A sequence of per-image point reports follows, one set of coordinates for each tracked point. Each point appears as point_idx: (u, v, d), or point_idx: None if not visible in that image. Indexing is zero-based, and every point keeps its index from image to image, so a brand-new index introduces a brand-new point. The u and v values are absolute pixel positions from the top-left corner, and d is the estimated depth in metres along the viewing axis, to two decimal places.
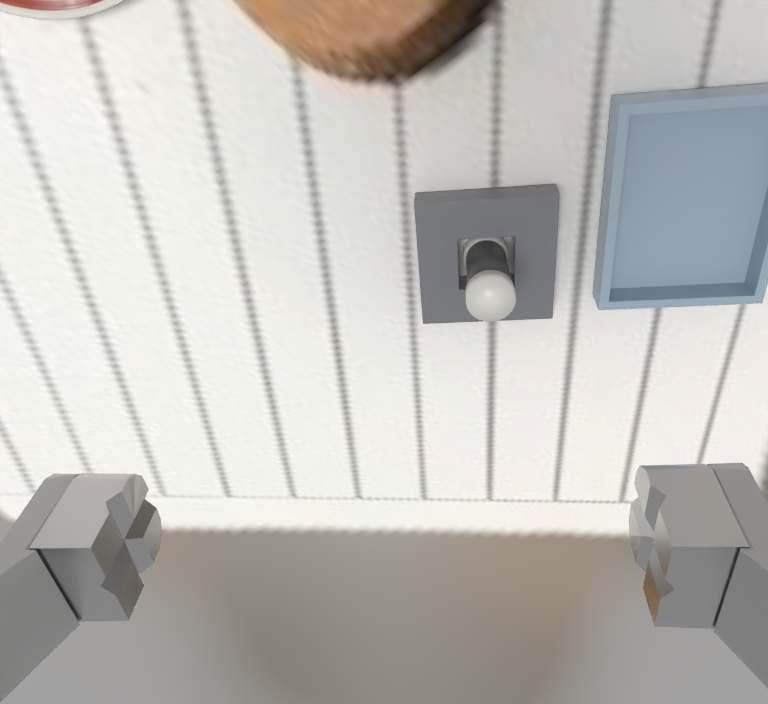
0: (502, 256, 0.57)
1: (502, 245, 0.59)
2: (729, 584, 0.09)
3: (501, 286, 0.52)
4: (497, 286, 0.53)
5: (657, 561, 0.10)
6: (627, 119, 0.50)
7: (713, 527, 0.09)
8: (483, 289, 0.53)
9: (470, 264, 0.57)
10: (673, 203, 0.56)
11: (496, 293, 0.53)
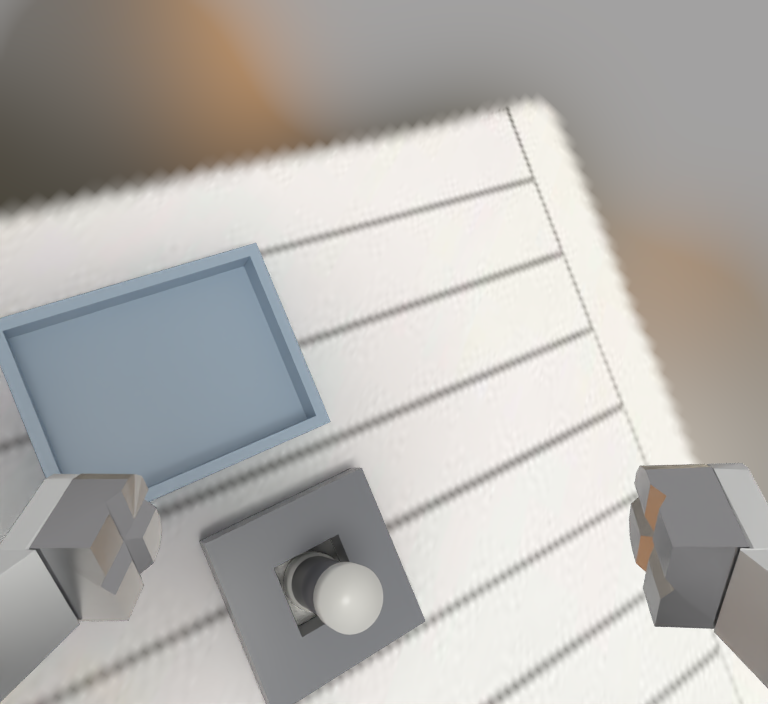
0: (302, 577, 0.44)
1: (293, 571, 0.46)
2: (729, 584, 0.09)
3: (327, 596, 0.39)
4: (330, 601, 0.39)
5: (657, 561, 0.10)
6: None
7: (713, 527, 0.09)
8: (340, 616, 0.39)
9: None
10: (177, 394, 0.46)
11: (340, 597, 0.39)
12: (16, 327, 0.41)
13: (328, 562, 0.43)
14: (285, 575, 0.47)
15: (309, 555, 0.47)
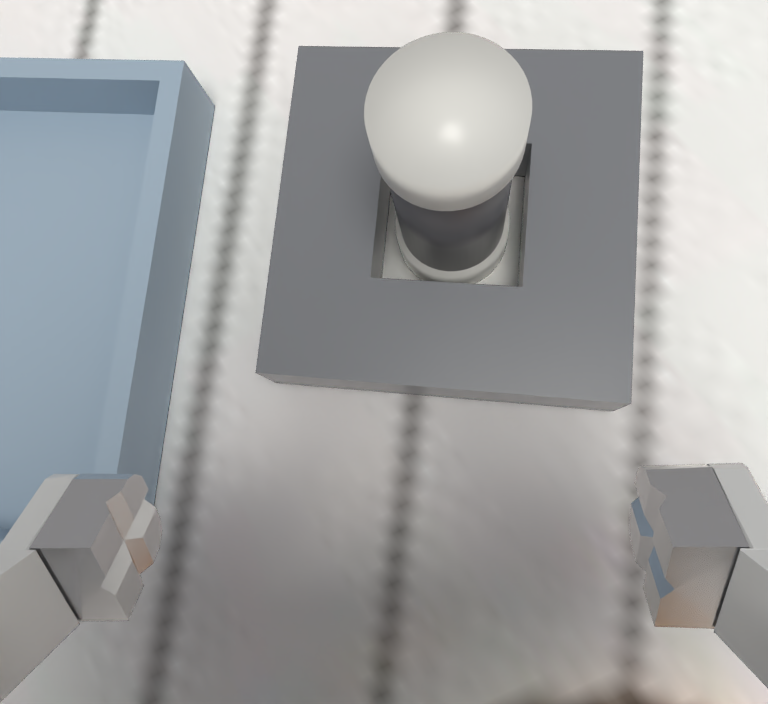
0: (406, 231, 0.21)
1: (406, 252, 0.23)
2: (729, 584, 0.09)
3: (405, 157, 0.16)
4: (419, 157, 0.16)
5: (657, 561, 0.10)
6: None
7: (713, 527, 0.09)
8: (467, 150, 0.16)
9: (495, 220, 0.20)
10: (30, 302, 0.25)
11: (425, 132, 0.16)
12: None
13: None
14: (415, 273, 0.24)
15: None
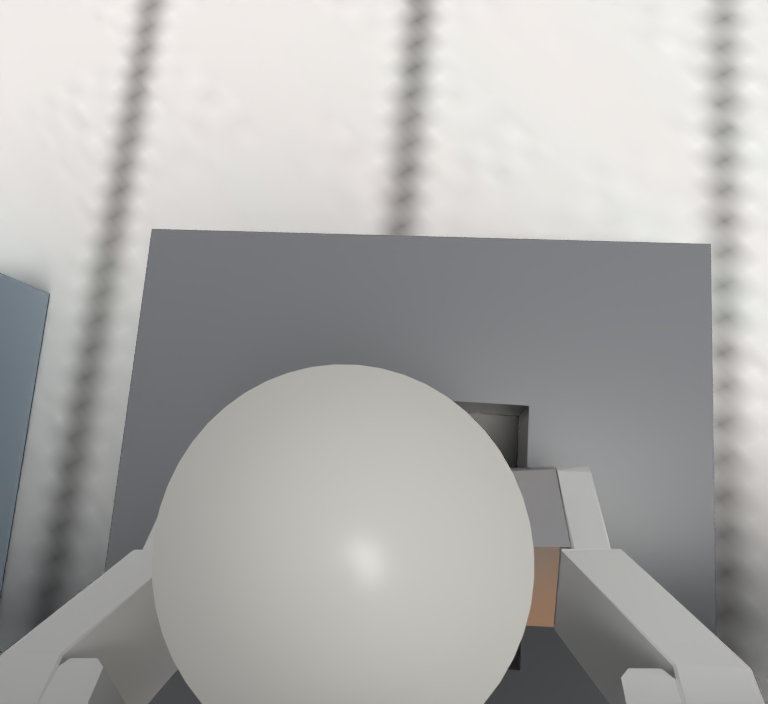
0: None
1: None
2: (558, 583, 0.09)
3: (237, 677, 0.07)
4: (270, 680, 0.07)
5: None
6: None
7: (541, 528, 0.09)
8: (381, 671, 0.07)
9: None
10: None
11: (286, 614, 0.07)
12: None
13: None
14: None
15: None
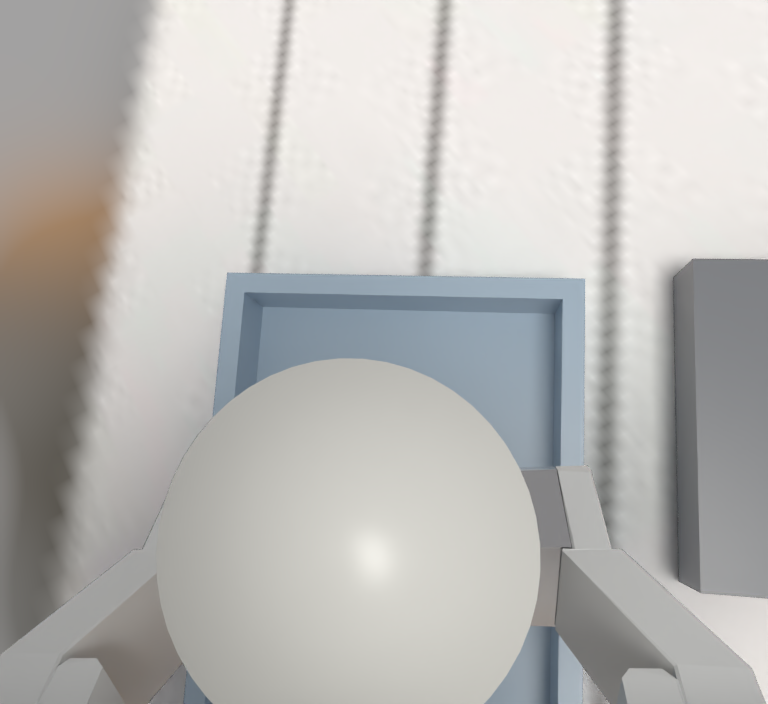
0: None
1: None
2: (560, 583, 0.09)
3: (243, 671, 0.07)
4: (276, 674, 0.07)
5: None
6: None
7: (542, 528, 0.09)
8: (387, 665, 0.07)
9: None
10: None
11: (292, 608, 0.07)
12: None
13: None
14: None
15: None
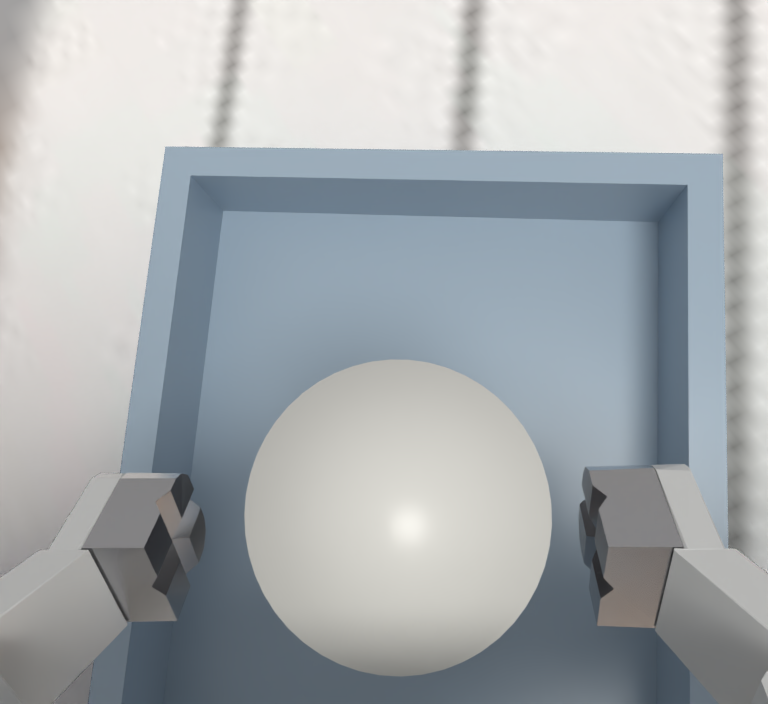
0: None
1: None
2: (666, 584, 0.09)
3: (316, 607, 0.08)
4: (344, 608, 0.08)
5: (599, 561, 0.10)
6: None
7: (650, 527, 0.09)
8: (432, 599, 0.08)
9: None
10: None
11: (355, 556, 0.08)
12: None
13: None
14: None
15: None
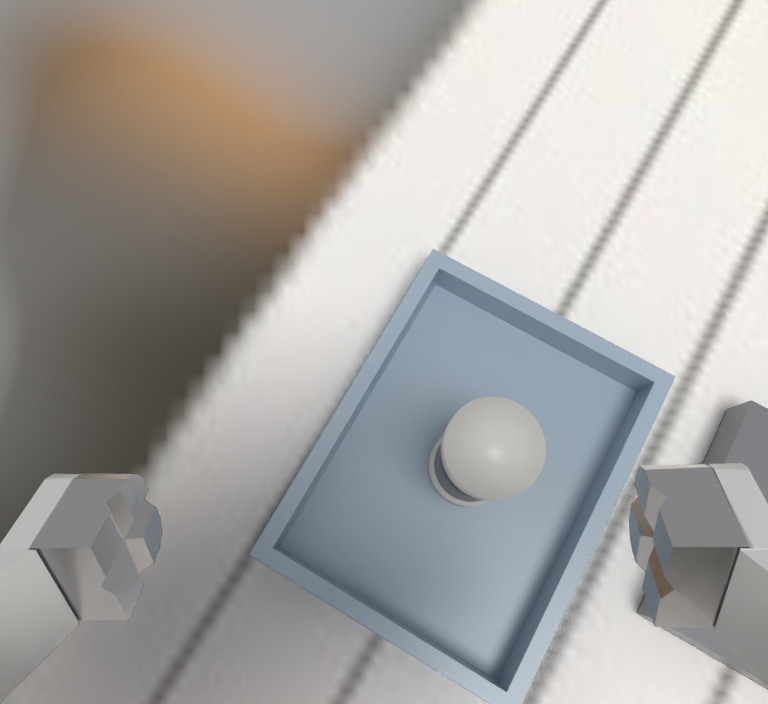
0: (439, 469, 0.31)
1: (432, 471, 0.33)
2: (729, 584, 0.09)
3: (459, 464, 0.26)
4: (467, 468, 0.26)
5: (657, 561, 0.10)
6: (512, 687, 0.30)
7: (713, 527, 0.09)
8: (495, 477, 0.26)
9: None
10: None
11: (477, 454, 0.26)
12: (281, 533, 0.31)
13: None
14: (431, 482, 0.34)
15: (439, 441, 0.33)
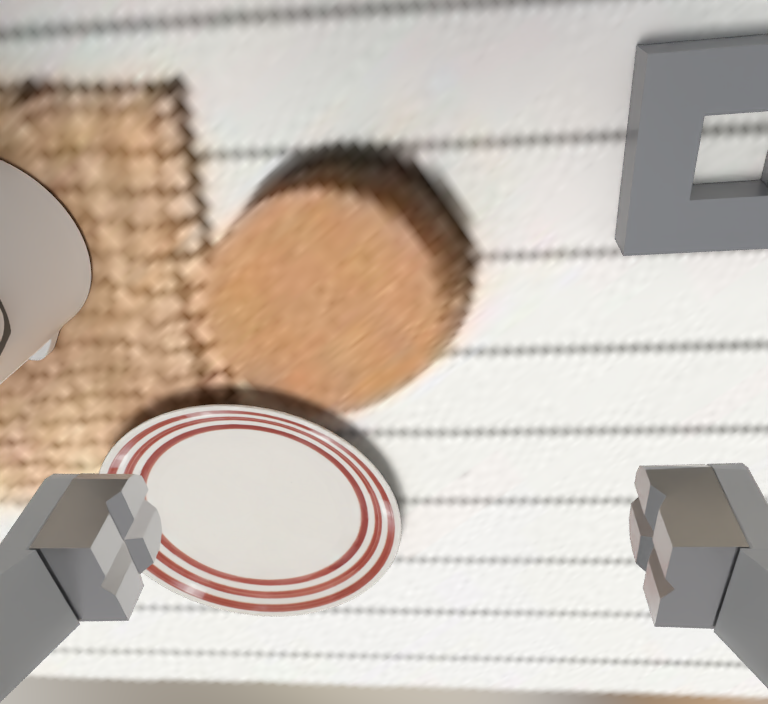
0: None
1: None
2: (729, 584, 0.09)
3: None
4: None
5: (657, 561, 0.10)
6: None
7: (713, 527, 0.09)
8: None
9: None
10: None
11: None
12: None
13: None
14: None
15: None
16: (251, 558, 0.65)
